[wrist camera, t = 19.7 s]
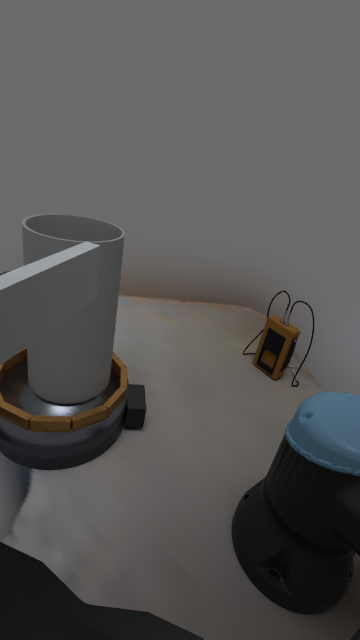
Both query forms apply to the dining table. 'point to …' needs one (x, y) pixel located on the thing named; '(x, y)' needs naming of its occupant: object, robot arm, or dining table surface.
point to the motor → (63, 419)
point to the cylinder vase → (84, 325)
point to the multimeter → (277, 345)
